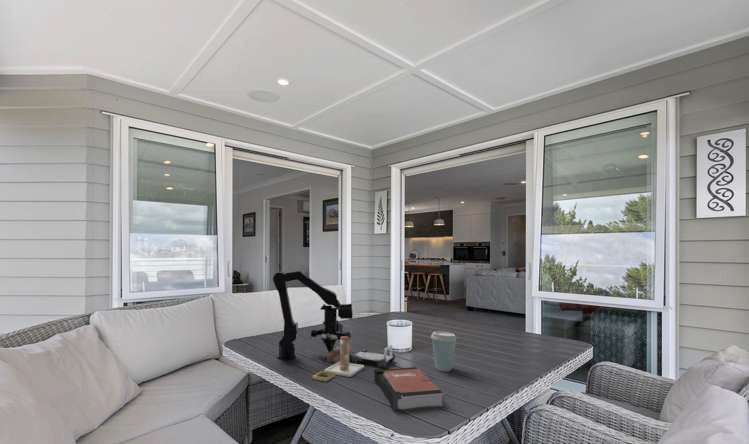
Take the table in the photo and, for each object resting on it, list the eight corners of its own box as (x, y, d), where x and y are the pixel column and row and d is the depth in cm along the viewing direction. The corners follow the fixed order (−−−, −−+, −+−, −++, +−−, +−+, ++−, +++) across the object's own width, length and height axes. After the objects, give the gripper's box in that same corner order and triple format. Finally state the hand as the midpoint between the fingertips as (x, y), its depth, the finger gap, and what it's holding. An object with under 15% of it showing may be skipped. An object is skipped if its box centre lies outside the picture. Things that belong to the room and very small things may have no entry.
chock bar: (326, 361, 164) (326, 353, 165) (336, 354, 176) (336, 347, 176) (341, 363, 162) (341, 355, 163) (350, 355, 174) (350, 348, 174)
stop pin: (339, 370, 150) (339, 338, 151) (341, 367, 154) (341, 336, 155) (348, 371, 150) (348, 338, 151) (349, 368, 153) (349, 336, 154)
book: (445, 407, 118) (445, 391, 118) (393, 412, 114) (393, 396, 114) (418, 378, 143) (418, 365, 144) (374, 382, 139) (374, 369, 140)
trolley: (349, 364, 160) (349, 346, 160) (362, 356, 171) (362, 340, 171) (384, 369, 153) (384, 350, 153) (395, 361, 164) (395, 344, 164)
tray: (324, 372, 149) (324, 369, 149) (339, 364, 160) (339, 361, 160) (350, 377, 144) (350, 374, 144) (364, 368, 155) (364, 365, 155)
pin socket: (312, 379, 142) (312, 376, 142) (321, 374, 147) (321, 371, 147) (326, 381, 139) (326, 378, 139) (335, 376, 145) (335, 373, 145)
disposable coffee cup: (441, 363, 161) (440, 328, 162) (462, 369, 153) (461, 332, 154) (426, 369, 153) (425, 332, 155) (447, 375, 146) (447, 336, 147)
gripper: (356, 317, 176) (356, 350, 175) (323, 314, 183) (322, 346, 182) (344, 321, 166) (344, 357, 165) (310, 318, 173) (309, 352, 172)
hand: (330, 352), depth 171 cm, fingers closed
